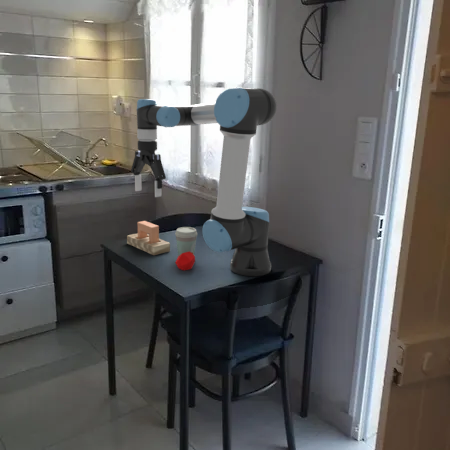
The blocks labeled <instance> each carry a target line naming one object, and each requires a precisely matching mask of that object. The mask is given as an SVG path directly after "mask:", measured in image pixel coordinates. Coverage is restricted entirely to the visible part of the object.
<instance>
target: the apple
mask: <svg viewBox="0 0 450 450" xmlns="http://www.w3.org/2000/svg"><path fill="white" fill-rule="evenodd" d="M195 263H196V256H195V254H194V255H193V252H192V253H191V252H185V253H182V254H181V255H179V256H178V255H177V258H176V260H175V265H176V267H177V268H178V270H181V271H187V270H188V271H189V270H191V269H193V266H194V264H195Z"/></svg>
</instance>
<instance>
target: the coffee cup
mask: <svg viewBox="0 0 450 450" xmlns="http://www.w3.org/2000/svg"><path fill="white" fill-rule="evenodd" d="M174 236H175V240H176V249H177V257H178V256H179V255H181V254H182V253H185V252H191V253H192V252H193V255H194V256H195V250H196V243H197V237H198V232H197V229H196V228H194V227H191V226H182V227H178V228H177V229H176V231H175V233H174Z"/></svg>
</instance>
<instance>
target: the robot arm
mask: <svg viewBox="0 0 450 450" xmlns="http://www.w3.org/2000/svg"><path fill="white" fill-rule="evenodd" d="M157 102H158V101H157V100H156V99H152V98H150V99H149V98H140V99H137V102H136V103H137V104H136V125H137V131H136V132H137V134H136V135H137V139H138V140H137V150H135V151H134V159H133V162H132V165H131V169H130V172H131V173H133V176H134V191H135V192H140V191H143V190H142V186H143V185H142V171H143V169H144V167H145V165H148V167H150V169H151V171H152V173H153V176H154V178H155V179H154V198H160V197H162V195H163V194H162V193H163V192H162V191H163V190H162V188H163V180H166V179H167V178H166V174H165V170H164V167H163V164H162V157H161V154H160V153H158V154H157V153H155V152H156V151H157V150H158V141H157V139H158V130H157V129H158V127H164V128H174V127H181V126H182V127H183V126H185V127H186V126H201V125H207V124H208V125H209V124H218V125H219V131H220V132H221V134H222V135H223V138H222V139H223V140H222V151H221V157H220V159H221V160H220V168H219V169H220V170H219V178H218V179H219V181H218V187H217V198H216V199H217V200H216V206H215V207H214V208H212V209H211V212H210V219H208V220H206V221H205V222H204V223H203V226H202V230H201V231H202V232H201V233H202V237H203V240H204V242H205V244H206V246H207V247H208V248H209V249H210V250H212V251H213V252H215V253H219V254H220V253H221V254H222V253H225V252H230V251H231V250H234V252H233V255H232V257H231V260H230V265H229V266H230V267H229V269H230V271H232V272H233V273H234V274H237V275H241V276H246V277H259V276H260V277H261V276H264V275H268V274H269V273H271V271H272V262H271V261H270V256H269V255H270V254H269V251H268V247H269V246H268V244H269V230H270V229H269V228H270V213H269V212H268V211H267V210H266V209H262V208H259V207H251V206H243V201H244V193H245V185H246V178H247V169H248V162H249V153H250V146H251V139H252V138H253V137H254V136H256V135H257V128H258V127H259V126H263V125H266V124H268V123H270V122H271V121H272V120H273V119H274V117H275V116H276V113H277V111H278V104H277V100H276V98H275V95H274V94H272V93H271V92H270V91H269V90H267V89H264V88H248V87H247V88H246V87H238V86H237V87H231V88H230V87H229V88H226V89H224V90H223V91H222V92H221V93H219V95H218V96H217V98H216V100H215V101H213V102H206V103H198V104H191V105H160V104H159V105H158V103H157Z"/></svg>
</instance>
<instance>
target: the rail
mask: <svg viewBox="0 0 450 450" xmlns="http://www.w3.org/2000/svg"><path fill="white" fill-rule="evenodd" d="M126 244H128V245H130V246H133V247H134V248H136V249H139V250H141V251H142V252H143V251H144V252H146V253H148V254H150V255H152V256H156V255H160V254H164V253H165V254H166V253H169V252H171V243H170V242H169V241H165V240H164V239H161V238H159V242H157V243H153V244H150V243H149V233H147V237H146V238H141V239H138V232H137V233H132V234H129V235H127V236H126Z"/></svg>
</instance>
